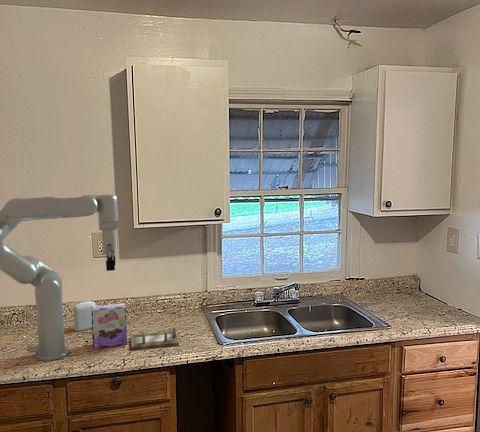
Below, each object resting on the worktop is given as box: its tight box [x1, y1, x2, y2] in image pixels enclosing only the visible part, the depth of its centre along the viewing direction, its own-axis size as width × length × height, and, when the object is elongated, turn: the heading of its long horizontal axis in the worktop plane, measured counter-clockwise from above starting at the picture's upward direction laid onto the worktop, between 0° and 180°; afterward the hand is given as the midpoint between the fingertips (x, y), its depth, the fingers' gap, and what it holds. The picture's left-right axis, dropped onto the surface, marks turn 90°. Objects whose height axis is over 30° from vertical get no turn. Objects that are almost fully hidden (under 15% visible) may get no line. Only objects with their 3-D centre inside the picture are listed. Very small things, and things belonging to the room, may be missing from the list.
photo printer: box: [72, 300, 97, 332], centre depth 222 cm, size 10×4×12 cm, turn 134°
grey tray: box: [130, 326, 180, 351], centre depth 206 cm, size 19×14×5 cm
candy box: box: [91, 303, 128, 349], centre depth 203 cm, size 14×6×16 cm, turn 105°
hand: (111, 267), depth 197 cm, fingers open, 9 cm apart
